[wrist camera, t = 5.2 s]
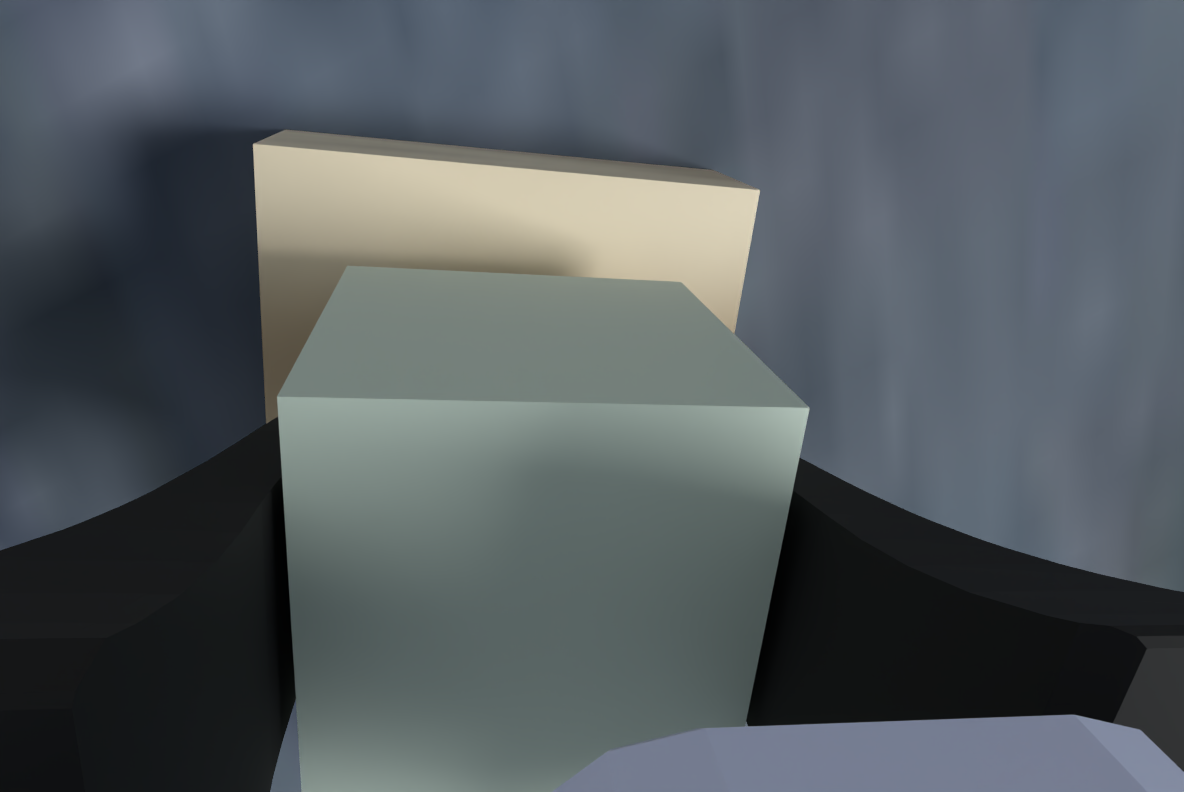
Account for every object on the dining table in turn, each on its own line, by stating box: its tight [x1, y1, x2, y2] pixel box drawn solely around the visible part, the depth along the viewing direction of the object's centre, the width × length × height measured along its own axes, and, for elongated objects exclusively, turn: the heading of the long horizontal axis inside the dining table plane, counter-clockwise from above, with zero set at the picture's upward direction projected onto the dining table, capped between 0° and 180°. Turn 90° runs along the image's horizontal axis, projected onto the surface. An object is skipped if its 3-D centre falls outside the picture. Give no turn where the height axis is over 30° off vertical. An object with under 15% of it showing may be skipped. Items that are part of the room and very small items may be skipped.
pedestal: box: [253, 129, 760, 424], centre depth 16 cm, size 8×8×3 cm
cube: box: [277, 266, 809, 792], centre depth 11 cm, size 5×5×5 cm
